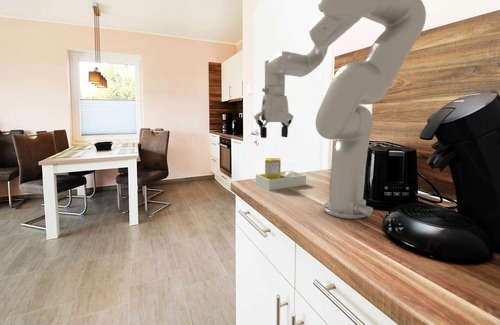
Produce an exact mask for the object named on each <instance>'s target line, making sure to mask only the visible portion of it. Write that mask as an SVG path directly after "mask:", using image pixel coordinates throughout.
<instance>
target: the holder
mask: <svg viewBox="0 0 500 325" xmlns="http://www.w3.org/2000/svg"><path fill="white" fill-rule="evenodd" d="M289 171H290V172H293V173H294V174H295V176H293V177H286V176H284V174H285V173H286V172H289ZM255 185H257V186H259V187H261V188H263V189H265V190H267V191H274V190H275V191H276V190H282V189H287V188H295V187H302V186H306V185H307V174H304V173H301V172H298V171H297V172H296V171H293V170H287V171H280V178H277V179H267V178H265V173H259V174H255Z"/></svg>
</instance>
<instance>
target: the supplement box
mask: <svg viewBox="0 0 500 325" xmlns="http://www.w3.org/2000/svg"><path fill="white" fill-rule="evenodd" d="M264 164H265V165H264V167H265V169H264V174H265V178H267V179H277V178H280V172H281V168H282V167H281V165H282V164H281V158H280V157H278V158H277V157H274V158H273V157H265V161H264Z"/></svg>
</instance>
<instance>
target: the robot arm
mask: <svg viewBox="0 0 500 325" xmlns="http://www.w3.org/2000/svg"><path fill="white" fill-rule="evenodd" d="M424 4H425V3H423V1H422V0H317V6H318V10H319V12H320V13H321V14H320V15H319V16H318V17H317V18H316V19H315V20H313V22H312V23H311V24H310V25H309V29H308V32H309V33H308V34H309V37H310V39H311V40H312V43H313V45H312V46H311V48H309V49H308V50H307V51H306V52H305V53H304V54H300V53H297V52H291V51H286V50H285V51H283V50H282V51H281V52H278V53H277V54H275V55H274V56H269V57H267V58H266V59H265V61H264V87H262V88H261V89H262V91H261V92H263V93H264V95H263V96H262V101H261V111H259V112H257V113H256V114H254V116H253V118H254V120H255V122H256V124H257V125H258V127H259V128H260V129H259V131H260V139H261V138H262V139H267V136H268V134H267V133H268V132H267V130H268V129H267V125H268V123H280V125H282V126H281V134H280V136H281V137H282V138H287V137H288V136H289V135H288V133H289V131H288V130H289V127H290V125H291V123H292V122H293V119H294V115H293V114H292V113H290V111H289V102H288V97H287V95H285V94H286V92H285V91H286V90H285V89H286V87H285V86H286V76H291V77H292V76H293V77H298V78H301V77H305V76H308V75H310V73H312V72H313V71H314V70H315V69H317V68H318V67H319V66H320V65H321V64H322V63H323V61H324V59H325V57H326V56H327V53H328V49H329V47H330V46H331V45H332V44H333V43H334V42H336V40H338V39H339V38H340V37H341V36H342V35H344V34H345V33H346V32H347V31H349V29H351V28H352V27H353V26H354V25H356V24H357V23H358V22H359V21H360V20H361V19H362V18H365V19H367V20H370V21H373V22H375V23H378V24H380V25H382V26H384V27H385V30H384V31H383V32H382V33H381V34H380V35H379V36H378V37H377V38H376V40H375V41H374V42H373V44H372V46H371V47H370V50H369V52H368V54H367V56H366V58H365V59H364V61H358V60H357V61H350V62H348V63H346V64H344V65H342V66H341V67H340V68H339V69H338V70H337V71H336V73H335V74H334V76H333V78H332V79H331V82H330V84H329V86H328V88H327V90H326V92H325V95H324V97H323V99H322V102H321V104H320V106H319V109H318V111H317V113H316V118H315V129H316V131H317V133H318V134H319V135H320V136H321V137H322V138H324V139H327V140H335V142H334V144H333V147H332V152H331V160H330V161H331V162H330V164H331V165H330V178H329V192H328V201H327V202H325V203H324V204H323V205H322V210H323V211H324V212H325V213H326V214H327V215H330V216H333V217H335V218H341V219H349V220H353V219H354V220H355V219H356V220H357V219H358V220H359V219H362V218H365V217H371V215H372V213H373V211H374V208H373V207H371V206H368V205H367V200H366V199H364V190H365V181H366V167H367V160H368V159H367V158H368V149H369V143H370V139H371V137H372V136H371V135H372V132H373V127H374V118H373V115H372V112H371V111H370V110H369V108H367V107H365V106H363V105H361V104H360V103H362V104H364V103H365V104H371V103H372V104H373V103H377V102H379V101H380V100H382V99H383V98H384V97H385V96H386V94H387V92H388V91H389V89H390V87H391V85H392V83H393V82H394V80H395V78H396V77H397V75H398V73H399V72H400V70H401V68H402V66H403V64H404V62H405V60H406V59H407V57H408V56H409V54H410V52H411V51H412V49H413V47H414V46H415V44H416V42H417V41H418V39H419V37H420V35H421V34H422V32H423V30H424V26H425V24H426V20H427V19H426V17H427V12H426V11H427V10H426V6H425V5H424Z"/></svg>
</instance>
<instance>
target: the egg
mask: <svg viewBox="0 0 500 325" xmlns="http://www.w3.org/2000/svg"><path fill="white" fill-rule="evenodd" d="M288 171H289V172H286V173H285V174H284V176H286V177H293V176H295V174H294V173H293V172H290V171H291V170H288Z"/></svg>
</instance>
